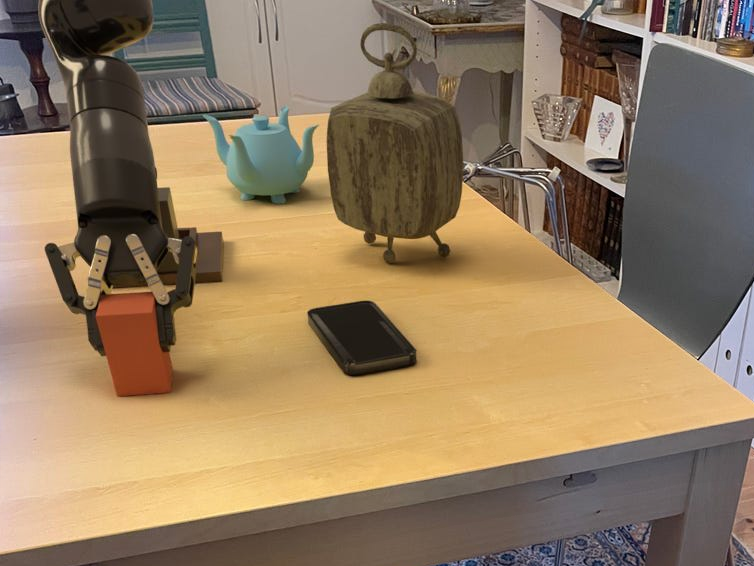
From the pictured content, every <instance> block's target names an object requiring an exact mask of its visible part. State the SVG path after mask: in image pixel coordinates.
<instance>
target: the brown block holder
mask: <svg viewBox="0 0 754 566" xmlns="http://www.w3.org/2000/svg"><path fill="white" fill-rule="evenodd" d="M158 196H159V205H160V213H161V222H162V229H163V231H164V232H165V234H166V235H167V237H168V238H174V239H180V240H182V239H183V238H184V237H185V236H190V237H192V238H193V239H194V241H195V244H196V247H197V251H198V263H197V270H196V278H195V284H200V283H215V282H217V283H218V282H223V268H224V267H223V263H224V236H223V232H222V231H206V232H205V231H204V232H198V229H197V226H195V227H192V226H191V227H179V226H178V221H177V218H176V212H175V207H174V201H173V196H172V191H171V187H167V186H165V187H158ZM156 272H157V274H158V276H159V278H160V280H161V282H162V284H163V286H165V285H167V286H168V285H176V279H177V272H178V264H177V263H176V262H175V259H174V257H173V253H172V252H170V251H169V252H168V253H167V255H166V257H165V258H164V260H163V261H162V263H161V265H160V266H159V268H158V269H157V271H156ZM147 286H148V284H147V282H146V284H133V283H126V284H123V285H117V286H113V289H114V288H132V287H147ZM148 287H149V286H148Z"/></svg>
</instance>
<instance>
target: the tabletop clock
mask: <svg viewBox="0 0 754 566" xmlns="http://www.w3.org/2000/svg"><path fill="white" fill-rule="evenodd" d="M377 31H388V32H394V33H398V34H400V35H402V37H404V38H406V40H407V41H408V42H409V44H410V46H411V48H412V54H411V56H410V57H409V58H407V59H405V60H401V61H394V60H395V59H394V55H393V53H391V52H386V53H384V55H383V59H379V58H377V57H375V56H373V55H371V54H370V53H369V52H368V51H367V49H366V46H365V42H366V40H367V38H368V37H369V36H370V35H371V34H372V33H374V32H377ZM359 45H360V49H361V52H362V54H363V56H364V57H365V58H366V59H367V61H368V62H370V63H371V64H373V65H375V66H377V67H380V68H383V69H384V70H382V71H379V72H377V73H375V74H374V76H372V78H371V80H370V82H369V83H368V88H367V89H368V90H367V92H365V93H363V94H360V95H358V96H356V97H353V98H351V99H349V100H346V101H344V102H341V103H339V104H337V105H335V106H333V107H331V108H330V111H329V115H328V119H327V128H326V160H327V161H326V162H327V175H328V181H329V190H330V195H331V196H330V198H331V202H332V206H333V210H334V213H335V216H336V218H337V220H338V221H339V222H341V223H342V224H344V225H346V226H348V227H351V228H353V229H355V230H358V231H361V232H364V233H363V240H364V242H365V243H366V244H369V245H372V244H374V243H375V241H376V240H377V236H381V237H384V238H387V250H385V251H383V253H382V259H383V262H384V263H386V264H388V265H389V264H393V263H395V261H396V257H397V256H396V253H395V251H394V250H393V244H394V239H402V240H403V239H404V240H405V239H406V240H420V239H423V238H427V237H430V238H431V239H432V241H434V242H435V244H436V245H437V246H438V247H437V253H438V255H439V256H440V257H441V258H446V257H448V256H449V255H450V253H451V247H450V245H449V244H448V243H445V242H444V243H443V242H442V240H441V239H440V237H439V235H438V233H437V231H439V229H441V228H442V227H444V226H446V225H447V224H448V223H449V222H451V221H453V220H454V219H455V218H456V217H457V214H458V213H459V209H460V206H461V200H462V195H463V184H464V183H463V182H464V166H465V165H464V148H463V134H462V127H461V122H460V118H459V115H458V112H457V109H456V106H455V105H453V103H451V102H450V101H448V100H446V99H444V98H442V97H439V96H436V95H433V94H429V93H423V92H419V91H414V90H413V88H412V85H411V83H410V81H409V79H408V78H407V77H406V76H405V75H404V73H403V72H400V71H398V69H403V68H406V67H408V66H410V65H412V63H413V62H414V61H415V60H416V57H417V54H418V48H417V44H416V41H415V39H414V37H413V35H411V33H410V31H408V30H406V29H405V28H404V27H403V26H401V25H398V24H394V23H388V22H379V23H374V24H372V25H370V26H368V27H366V29H364V31H363V32H362V35H361V38H360V44H359Z"/></svg>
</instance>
